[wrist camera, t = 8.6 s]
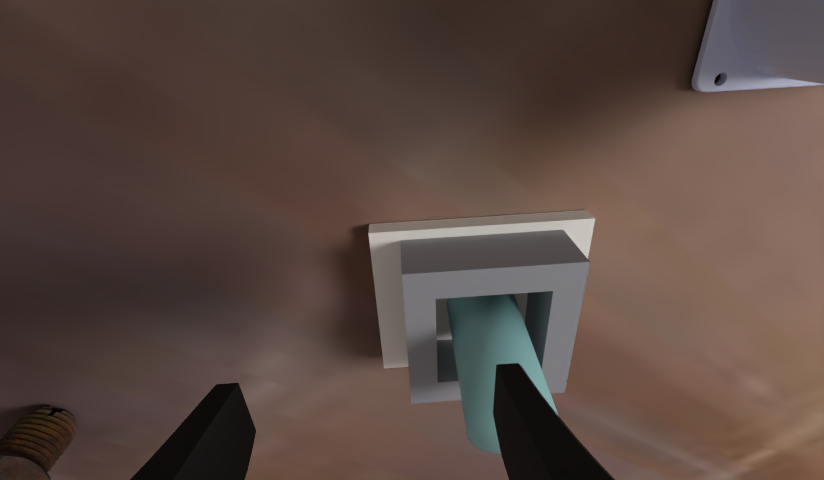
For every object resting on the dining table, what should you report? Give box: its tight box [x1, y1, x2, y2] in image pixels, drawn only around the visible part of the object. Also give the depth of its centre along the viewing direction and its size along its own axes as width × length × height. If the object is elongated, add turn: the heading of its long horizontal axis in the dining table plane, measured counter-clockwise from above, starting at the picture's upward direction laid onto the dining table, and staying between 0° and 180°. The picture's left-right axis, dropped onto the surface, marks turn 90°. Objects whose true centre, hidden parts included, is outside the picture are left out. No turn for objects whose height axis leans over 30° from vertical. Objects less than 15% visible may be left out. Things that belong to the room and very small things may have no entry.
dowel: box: [447, 294, 558, 453], centre depth 18 cm, size 4×4×7 cm
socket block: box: [368, 210, 595, 403], centre depth 20 cm, size 11×9×4 cm
